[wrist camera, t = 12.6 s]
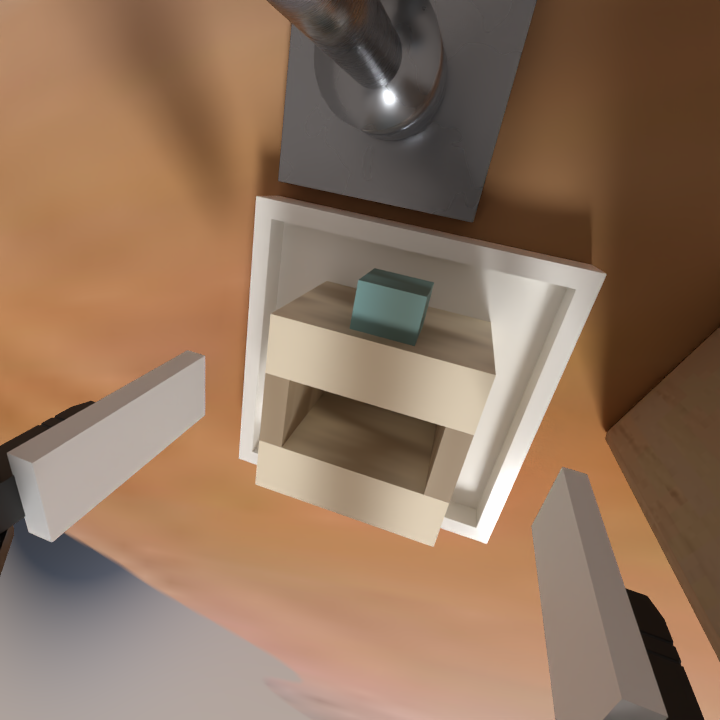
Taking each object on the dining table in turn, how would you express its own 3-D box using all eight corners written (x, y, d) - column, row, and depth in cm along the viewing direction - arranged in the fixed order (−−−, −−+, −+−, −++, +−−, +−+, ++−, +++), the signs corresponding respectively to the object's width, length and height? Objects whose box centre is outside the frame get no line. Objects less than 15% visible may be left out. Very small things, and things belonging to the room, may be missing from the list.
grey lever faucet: (309, -71, 16) (-317, -1045, 3) (550, -47, 14) (1036, -1671, 2) (285, 181, 19) (-47, 162, 7) (473, 221, 18) (461, 284, 6)
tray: (278, 195, 20) (256, 195, 18) (592, 264, 17) (606, 273, 15) (257, 438, 26) (238, 458, 24) (486, 514, 23) (486, 543, 21)
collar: (307, 416, 23) (255, 484, 18) (332, 243, 19) (275, 263, 14) (444, 459, 22) (433, 546, 16) (503, 283, 18) (514, 323, 12)
